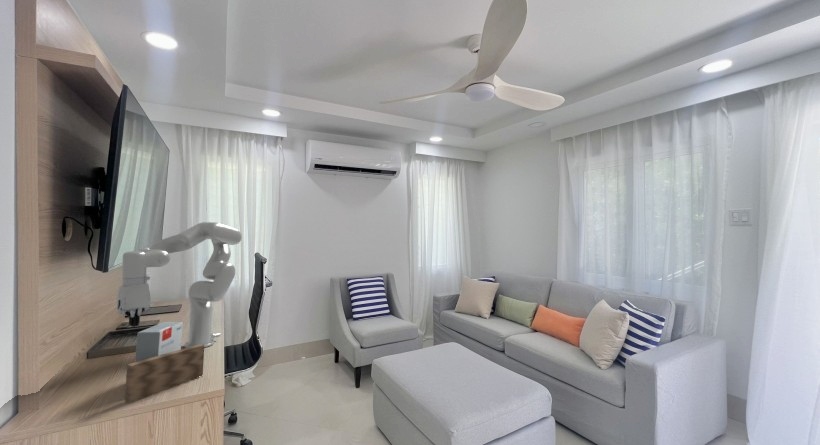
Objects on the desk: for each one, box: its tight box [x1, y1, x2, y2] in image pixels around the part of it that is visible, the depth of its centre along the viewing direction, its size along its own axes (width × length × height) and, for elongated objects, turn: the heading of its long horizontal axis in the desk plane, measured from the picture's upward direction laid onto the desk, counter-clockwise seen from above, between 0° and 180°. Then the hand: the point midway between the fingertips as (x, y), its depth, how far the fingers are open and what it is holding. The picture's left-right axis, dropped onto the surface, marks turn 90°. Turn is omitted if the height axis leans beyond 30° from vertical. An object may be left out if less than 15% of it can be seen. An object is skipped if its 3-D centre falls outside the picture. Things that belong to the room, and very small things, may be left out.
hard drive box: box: [134, 321, 184, 362], centre depth 124 cm, size 16×8×20 cm, turn 7°
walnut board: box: [124, 344, 205, 404], centre depth 118 cm, size 24×2×12 cm, turn 154°
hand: (134, 325), depth 134 cm, fingers closed
